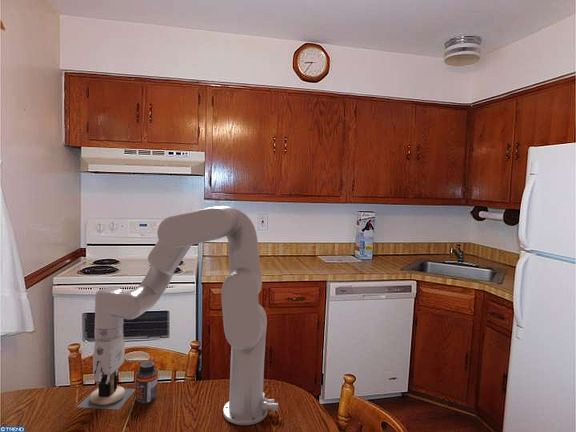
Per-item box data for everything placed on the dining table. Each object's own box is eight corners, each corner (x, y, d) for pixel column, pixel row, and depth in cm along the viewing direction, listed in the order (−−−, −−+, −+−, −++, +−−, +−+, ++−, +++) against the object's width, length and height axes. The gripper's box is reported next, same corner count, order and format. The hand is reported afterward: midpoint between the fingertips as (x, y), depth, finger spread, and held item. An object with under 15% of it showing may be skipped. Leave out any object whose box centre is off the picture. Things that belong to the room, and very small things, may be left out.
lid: (129, 389, 112) (130, 366, 112) (115, 405, 103) (115, 381, 103) (100, 387, 112) (101, 365, 112) (83, 404, 103) (84, 380, 103)
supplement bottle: (130, 402, 107) (131, 365, 107) (146, 393, 112) (147, 357, 112) (144, 409, 104) (145, 370, 104) (161, 399, 110) (162, 362, 109)
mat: (135, 392, 113) (136, 389, 113) (118, 413, 102) (118, 409, 102) (97, 390, 113) (97, 387, 113) (76, 410, 102) (76, 407, 102)
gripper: (107, 342, 98) (106, 409, 99) (134, 322, 115) (132, 379, 116) (79, 341, 99) (78, 407, 99) (110, 321, 115) (109, 378, 116)
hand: (107, 392), depth 107 cm, fingers closed on lid, 3 cm apart
